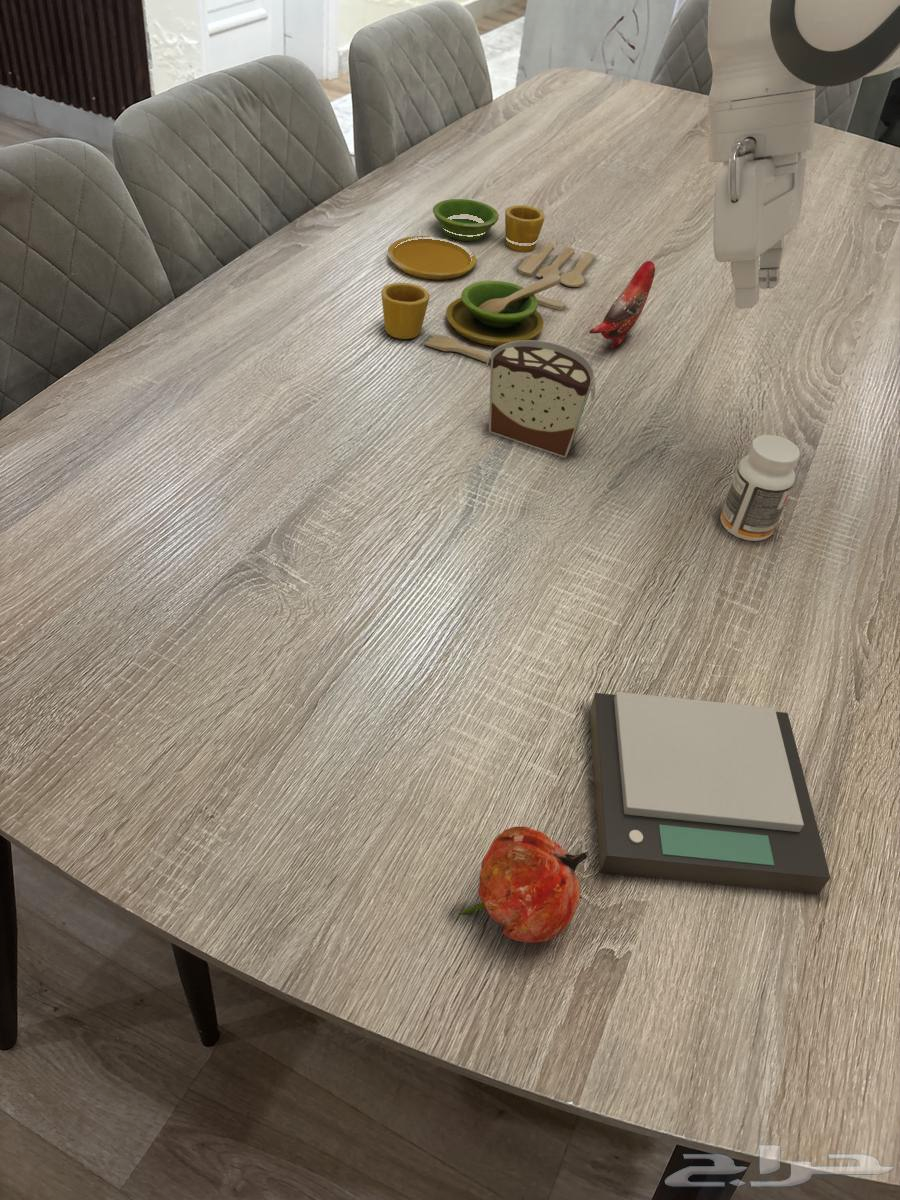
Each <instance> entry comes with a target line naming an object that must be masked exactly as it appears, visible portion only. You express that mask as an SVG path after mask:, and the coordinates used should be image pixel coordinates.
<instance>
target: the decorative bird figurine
mask: <svg viewBox="0 0 900 1200" xmlns="http://www.w3.org/2000/svg"><path fill="white" fill-rule="evenodd" d="M655 274H656V266H655V263H654V262H653V261H651V260H647V261H645V262H643V263H642V264H641V265H640V266H639V267H638V269H637V270H636V271H635V272H634V275H633V276H632V277H631V280H630V281H629V283H628V284H627V285H626V286H625V288H624V289H623V290H622V292H621V293H620V295H619V296H618V297H617V298H616V300H615V301H614V302H613V303H612V305H611V306H610V308H609V310H608V311H607V313H606V315H605V316H604V318H603V320H602V323H600V324H598V325H596V326H594V327H592V328H591V329H590V330H589V331H588V333H589V334H590V335H591V334H601V336H602V337H603V338H604V339H606V340H612V341H613V343H612V344H611V345H610V347H609V351H611V350H612V349H614V348H615V347H616V346H619V345H620V344H622V343H623V342H624V339H625V338H626V337H627V336H628V333H629V332H630V331H631V329H632V328H633V327H634V326H635V324H636V323H637V321H638V319H639V318H640V316H641V314H642V312H643V310H644V308H645V306H646V303H647V300H648V298H649V294H650V291H651V288H652V285H653V283H654V278H655Z"/></svg>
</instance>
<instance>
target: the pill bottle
mask: <svg viewBox="0 0 900 1200" xmlns="http://www.w3.org/2000/svg"><path fill="white" fill-rule="evenodd" d="M800 456H801V451H800V449H799V447H798V446H797V445H796V443H794V442H792V441H791V440H789V439H787V438H785V437H783V436H781V435H780V436H779V435H774V434H761V435H758V436H756V437H755V438H754V439H753V440H752V441H751V444H750V446H749V449H748V454H746V455H745V456H743V457H742V459H741V460H740V461H739V462H738V466H737V468H736V472H735V474H734V477H733V478H732V481H731V485H730V487H729V491H728V493H727V496H726V498H725V501H724V503H723V506H722V509H721V512H720V521H721V525H722V526H723V528H724V529H725V530H726V531H727V532H728V533H730V534H731V535H732V536H734V537H737V538H739V539H741V540H744V541H751V542H753V541H754V542H757V541H763V540H766V539H768V538H770V537H771V536H772V535H773V534H774V532H775V530H776V527H777V525H778V523H779V520H780V517H781V515H782V512H783V510H784V508H785V505H786V503H787V501H788V499H789V495H790V493H791V491H792V488H793V486H794V484H795V481H796V473H795V469H794V468H796V466H797V464H798V461H799V459H800Z"/></svg>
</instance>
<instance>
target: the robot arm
mask: <svg viewBox="0 0 900 1200" xmlns="http://www.w3.org/2000/svg"><path fill="white" fill-rule="evenodd" d="M707 6H708V7H707V51H708V55H709V58H710V62H711V68H712V78H711V79H712V81H711V87H710V90H709V94H708V98H707V99H708V100H707V101H708V102H707V104H708V105H707V107H708V108H707V109H708V110H707V111H708V112H707V114H708V116H707V118H708V120H707V122H708V126H707V127H708V131H707V132H708V162H710V163H722V167H720V168H719V170H718V172H717V175H716V178H715V187H714V188H715V189H714V202H713V203H714V206H713V233H712V234H713V237H712V238H713V239H712V243H713V244H712V245H713V246H712V247H713V253H714V257H715V260H716V261H717V262H718V263H730V273H731V277H732V282H733V287H734V293H735V294H734V297H735V307H736V308H737V309H739V310H740V309H741V310H742V309H752V308H754V307H755V306H757V304H759V302H760V289H761V290H767V289H770V290H771V289H774V288H776V287H777V286H778V285H779V284H780V279H781V278H780V277H781V265H782V259H783V254H784V249H785V237H786V236H788V235H789V234H790V233H792V232H793V231H794V230H796V229H797V227H798V224H799V219H800V216H801V211H802V203H803V196H804V195H803V194H804V185H805V174H806V165H807V164H806V163H807V151H811V150H813V149H814V143H815V141H814V139H815V137H814V136H815V113H816V112H815V110H816V86H818V87H838V86H841V85H843V86H844V85H846V84H849V83H852V82H854V81H857V80H859V79H862V78H867V77H872V76H876V75H877V76H878V75H881V74H885V73H887V72H891V71H893V70H895V69H897V68H899V67H900V0H708V5H707ZM758 268H759V269H758Z"/></svg>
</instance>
